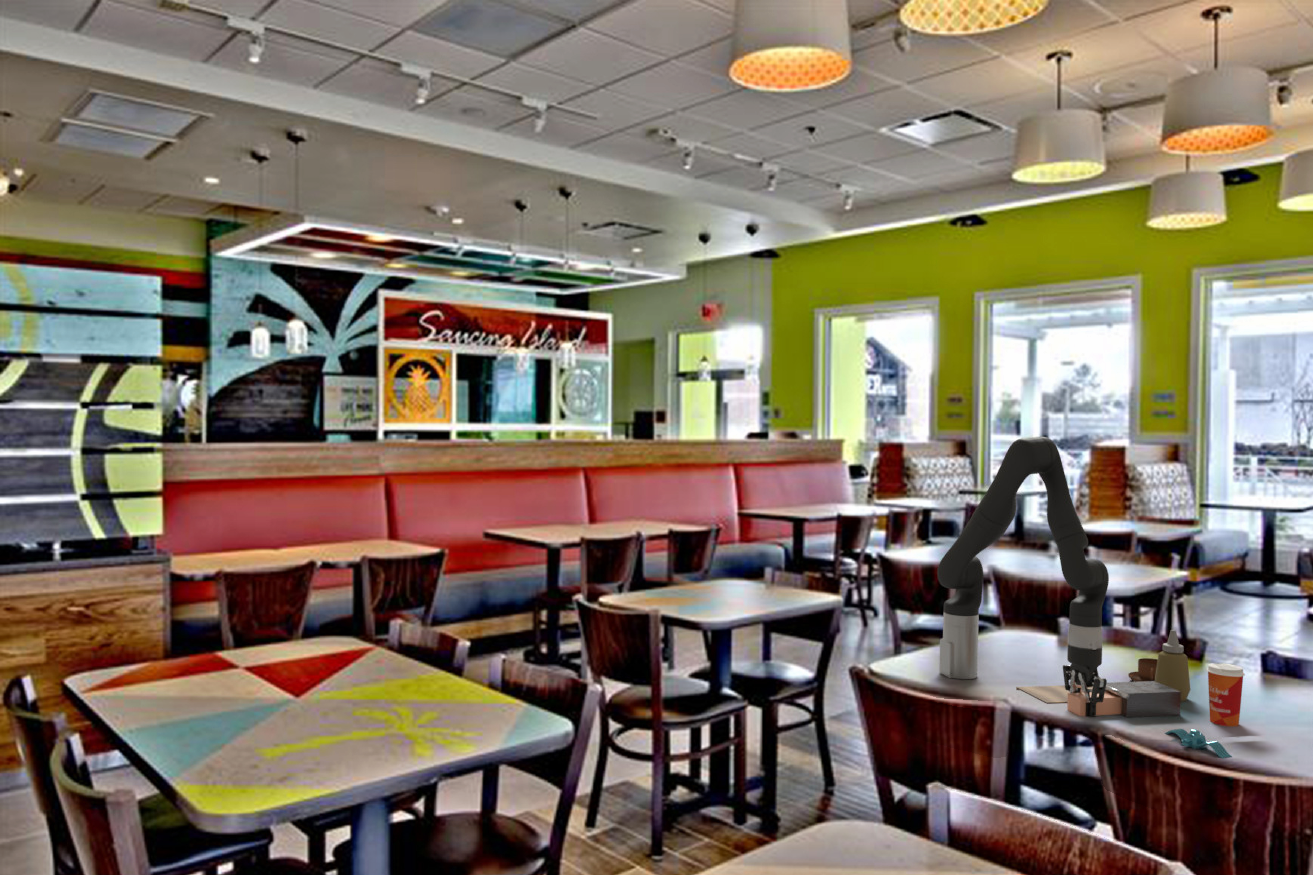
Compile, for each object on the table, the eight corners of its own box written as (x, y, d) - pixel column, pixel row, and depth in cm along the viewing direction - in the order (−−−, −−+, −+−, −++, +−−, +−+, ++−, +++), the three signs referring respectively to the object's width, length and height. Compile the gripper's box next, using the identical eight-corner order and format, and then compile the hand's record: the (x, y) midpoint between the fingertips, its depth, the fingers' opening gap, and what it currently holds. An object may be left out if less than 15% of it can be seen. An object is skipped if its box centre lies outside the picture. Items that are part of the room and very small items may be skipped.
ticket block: (1080, 716, 225) (1080, 699, 225) (1067, 709, 230) (1067, 693, 230) (1148, 712, 228) (1148, 695, 228) (1134, 706, 233) (1134, 690, 233)
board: (1046, 707, 235) (1047, 702, 235) (1016, 691, 248) (1016, 686, 248) (1142, 703, 239) (1142, 699, 239) (1106, 688, 253) (1107, 683, 253)
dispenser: (1124, 722, 224) (1124, 693, 224) (1097, 709, 234) (1098, 682, 233) (1180, 719, 226) (1181, 691, 226) (1152, 707, 236) (1152, 680, 236)
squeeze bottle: (1194, 707, 237) (1196, 634, 236) (1159, 704, 238) (1161, 632, 238) (1183, 698, 245) (1185, 628, 244) (1149, 696, 246) (1151, 626, 246)
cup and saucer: (1184, 691, 251) (1185, 668, 251) (1135, 688, 254) (1135, 665, 254) (1169, 679, 263) (1170, 657, 263) (1122, 677, 266) (1123, 654, 266)
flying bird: (1152, 739, 213) (1152, 721, 213) (1174, 735, 215) (1174, 718, 215) (1214, 761, 199) (1214, 743, 199) (1237, 757, 201) (1237, 739, 201)
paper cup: (1197, 721, 225) (1199, 662, 225) (1228, 721, 226) (1229, 662, 225) (1220, 732, 217) (1221, 670, 217) (1251, 731, 218) (1253, 670, 218)
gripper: (1052, 637, 234) (1051, 706, 234) (1089, 650, 220) (1087, 724, 220) (1080, 636, 235) (1079, 705, 235) (1118, 650, 221) (1116, 723, 221)
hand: (1083, 714), depth 228 cm, fingers closed on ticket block, 5 cm apart
